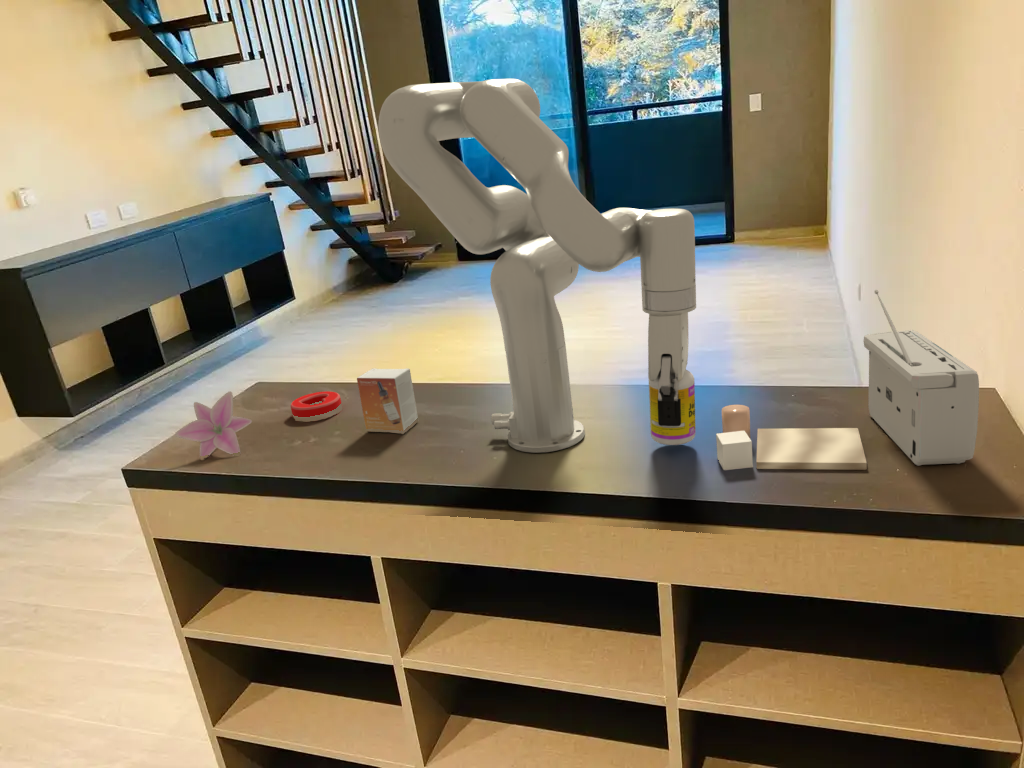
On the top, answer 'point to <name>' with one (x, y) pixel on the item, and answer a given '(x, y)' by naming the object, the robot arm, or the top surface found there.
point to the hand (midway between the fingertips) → (672, 414)
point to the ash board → (810, 449)
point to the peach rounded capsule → (736, 419)
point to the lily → (215, 427)
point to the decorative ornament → (304, 408)
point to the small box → (387, 399)
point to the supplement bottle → (687, 427)
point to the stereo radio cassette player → (922, 396)
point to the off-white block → (734, 450)
